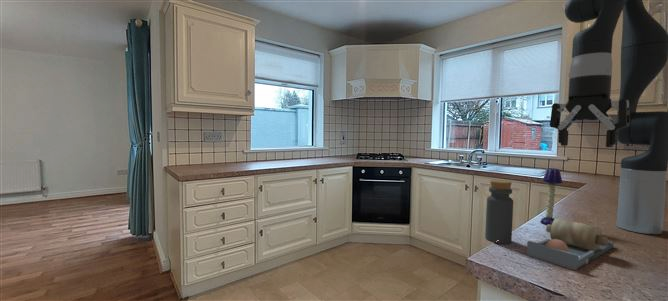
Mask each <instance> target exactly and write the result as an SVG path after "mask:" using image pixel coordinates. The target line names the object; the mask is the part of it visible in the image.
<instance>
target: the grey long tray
mask: <svg viewBox="0 0 668 301" xmlns="http://www.w3.org/2000/svg"><path fill="white" fill-rule="evenodd" d="M549 240H551V238H550V239H549V238H545V239H542V240H540V241H539V242H534V241H531V240H528V241H527V244H526V245H527V246H526V256H528V257H532V258H534V259H537V260H538V259H539V260H541V261H545V262H547V263H551V264H553V265H554V264H555V265H556V266H560V267H563V268H567V269H570V270H573V271H578V270H579V269H581V268H582V267H584V266H586V265H587V264H589V263H590V262H592V261H593V260H595V259H597V258H598V257H600V256H601V255H603V254H605V253H606V252H608V251H610V250H611V249H612V248H614V244H615V243H614V242H610V241H608V243H607V246H602V245H600V247H599V249H598V250H597V251H595V252H594V251H592V250H590V251H589V250H585V249H581V248H577V247H574V246H570V245H567V247H568V252H567V251H564V250H560V249H557V248H553V247H549V246H546V243H547V242H548V241H549Z"/></svg>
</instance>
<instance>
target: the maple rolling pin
mask: <svg viewBox="0 0 668 301" xmlns="http://www.w3.org/2000/svg"><path fill="white" fill-rule="evenodd" d="M554 219H555V220H554V221H553V223H552V225H551V224H548V225H546V228H545V230H546V233H549V235H550V240H552V239H558V240H561V241H563V242H564V243H565V244H566V245H570V246H574V247H577V248H581V249H585V250H589V251H590V250H592V251H594V252H595V251H597V250H598V249H599V247H600V245H602V246H607V243H608V242H609V240H608V239H609V238H608V237H607V236H603V235H602V229H601V227H600V226H598V227H596V226H597V225H595V226H591V225H592V224H590V225H587V224H588V223H585V224H582V223H583V222H582V223H581V222H576V221H572V220H567V219H562V218H558V217H557V218H554Z"/></svg>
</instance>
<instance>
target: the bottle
mask: <svg viewBox="0 0 668 301" xmlns="http://www.w3.org/2000/svg"><path fill="white" fill-rule="evenodd" d="M489 182H490V187H488V192H490V195H488V196H487V198H486V210H485V211H486V212H485V231H484V232H485V240H486V241H488V242H491V243H494V242H495V243H494V244H497V243H498V244H499V245H508V244H509V245H510V244H511V243H512V238H513V237H512V236H513V221H514V220H513V219H514V200H513V198H511V196H510V195H511V194H513V189H512V188H511V186H512V181H509V180H502V179H491V180H490V181H489ZM497 240H499V241H497ZM496 241H497V242H496Z"/></svg>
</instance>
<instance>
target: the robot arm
mask: <svg viewBox="0 0 668 301" xmlns="http://www.w3.org/2000/svg"><path fill="white" fill-rule="evenodd" d="M564 14H565V17H566V19H567V20H568V21H570V22H572V23H576V24H580V23H586V22H589V21H592V20H594V22H593V24H592V25H590V26H589V27H587V28H585V29H582V30H581V31H579V32H577V33H575V34H574V36H573V39H572V47H571V48H572V51H571V62H570V65H569V72H568V79H569V80H568V98H567V99H568V100H567V102H566V103H556V102H555V103H553V104H552V105H551V111H550V112H551V113H550V121H549V127H551V128H554V129H557V130H558V136H557V137H558V138H557V139H558V140H557V141H558V143H559V144H560V146H564V147H565V146H566V147H567V146H568V145H569V144H568V143H569V130H568V129H569V128H570V127H571V126H572V125H573V124H575V122H577V121H587V120H589V121H597V120H599V121H600V122H601V123H602V124H603V125H604V126H605V127H606V128H607V129H608V130H606V137H605V140H606V141H605V148H613V147H614V146H615V145H616V144H617V143H620V144H622V145H635V146H637V145H638V146H641V145H642V146H649V147H648V149H647V150H645V151H644V152H642V153H640V154H635V155H632V156H627V157H623V158H622V159H621V160H620V169H619V170H620V171H619V186H618V201H617V204H618V205H617V216H616V227H617V228H620V229H622V230H625V231H629V232H633V233H634V232H635V233H640V234H645V235H646V234H648V235H662V233H663V226H664V217H665V216H664V215H665V202H666V191H667V190H666V188H667V177H668V176H667V175H668V111H665V110H664V111H662V110H661V111H659V110H658V111H637V108H638V105H639V100H640V98H641V97H642V95H643V93H644V91H645V90H646V89H647V88H648V87H649V85H650V84H651V83H652V82H653V81H654V80H655V79H656V77H657V76H658V75H659V74H660V73H661V71H662V70H663V69H664V67H665V66H666V64H667V62H668V32H667V30H666V29H665V27H663V26H662V25H661V24H660V23H659V22H658V20H656V19H655V17H653V16H652V15H651V14H650V13H649V12H648V10H647V8H646V7H645V4H644V2H643V0H567V1H566V3H565V6H564ZM621 14H622V32H621V33H622V34H621V42H620V43H621V45H620V90H619V97H618V98H619V99H618V100H612V99H611V93H612V92H611V89H612V75H613V58H612V53H613V52H612V51H613V39H614V32H615V30H616V27H617V25H618V21H619V19H620V17H621ZM612 107H614V109H615V110H616V111H617V112H616V113H617V115H616V122H615V121H614V120H613V118H612V117H611V116H610V115H609V114H608V113H607V112H608V111H609V110H610V109H611V108H612ZM565 109H566V110H567V111H568V114H567V116H565V118H564V119H563V121H562V122H561V115H562V113H563V112H564V111H565Z"/></svg>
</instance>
